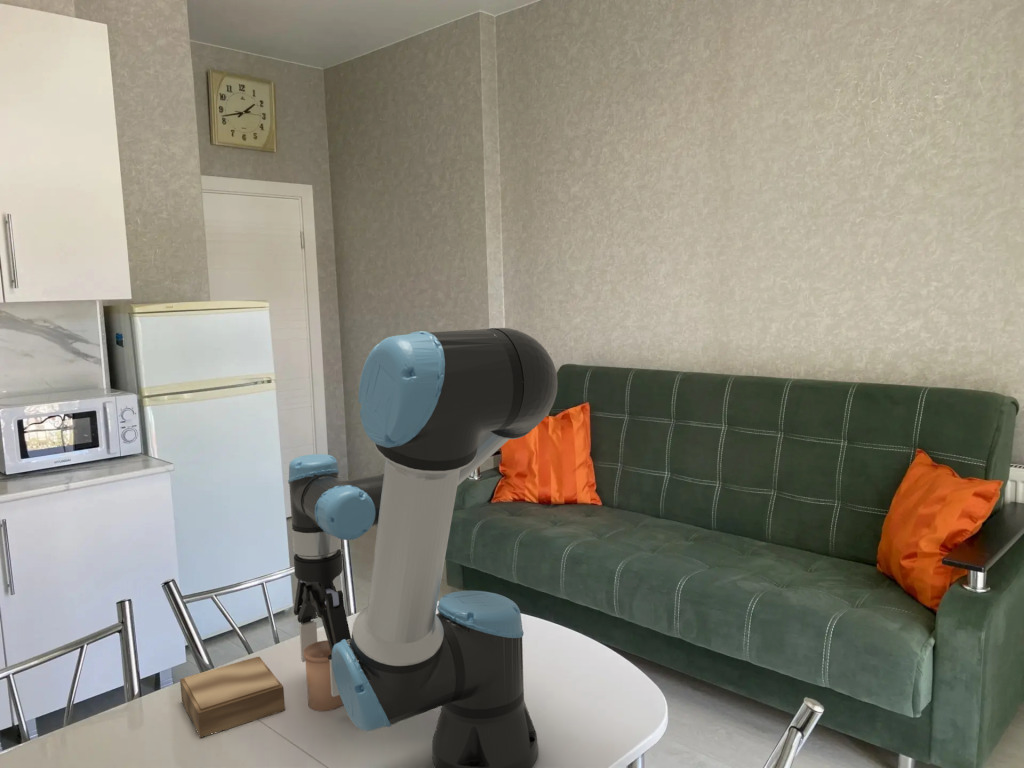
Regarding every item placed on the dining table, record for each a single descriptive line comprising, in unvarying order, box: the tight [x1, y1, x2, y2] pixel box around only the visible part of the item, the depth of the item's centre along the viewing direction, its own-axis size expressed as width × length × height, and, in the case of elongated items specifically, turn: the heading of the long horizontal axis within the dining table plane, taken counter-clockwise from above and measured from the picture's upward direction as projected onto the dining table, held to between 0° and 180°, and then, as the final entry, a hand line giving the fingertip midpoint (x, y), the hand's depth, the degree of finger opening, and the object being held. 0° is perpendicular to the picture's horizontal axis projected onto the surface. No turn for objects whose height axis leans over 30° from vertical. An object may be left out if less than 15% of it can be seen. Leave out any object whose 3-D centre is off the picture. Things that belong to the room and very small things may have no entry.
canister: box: [304, 639, 343, 712], centre depth 127 cm, size 6×6×9 cm
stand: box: [179, 656, 286, 738], centre depth 126 cm, size 13×13×4 cm
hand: (324, 675), depth 127 cm, fingers open, 13 cm apart
